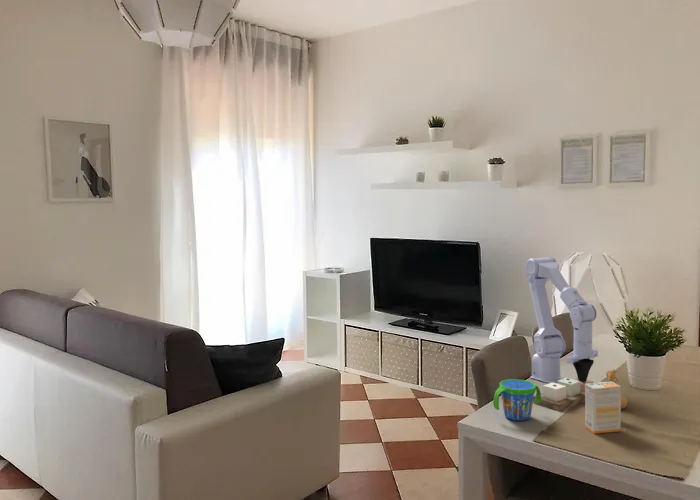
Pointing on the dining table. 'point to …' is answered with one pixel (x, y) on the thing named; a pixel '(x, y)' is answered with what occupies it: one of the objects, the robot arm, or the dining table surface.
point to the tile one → (554, 391)
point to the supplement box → (602, 407)
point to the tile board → (562, 401)
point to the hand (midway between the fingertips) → (582, 380)
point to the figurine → (612, 379)
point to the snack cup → (517, 398)
